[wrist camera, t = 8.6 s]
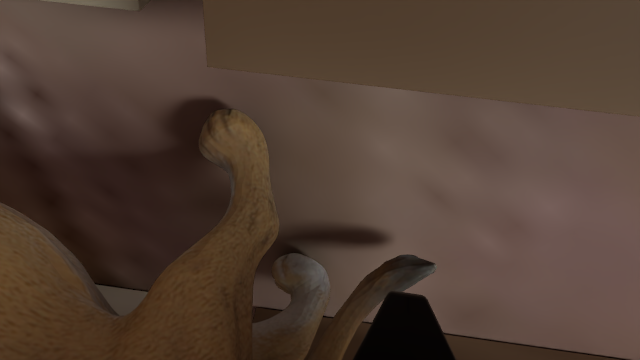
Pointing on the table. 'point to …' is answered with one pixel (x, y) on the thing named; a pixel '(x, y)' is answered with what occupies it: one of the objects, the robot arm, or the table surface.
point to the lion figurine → (187, 283)
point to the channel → (431, 72)
